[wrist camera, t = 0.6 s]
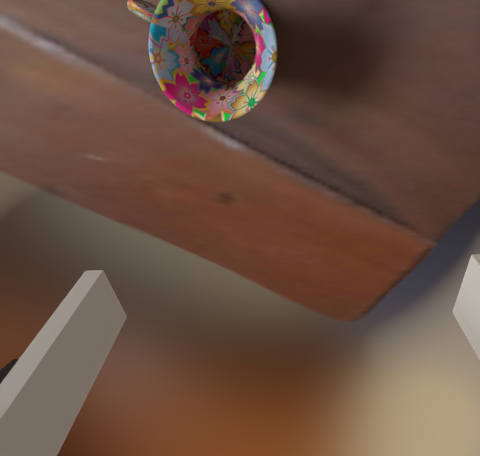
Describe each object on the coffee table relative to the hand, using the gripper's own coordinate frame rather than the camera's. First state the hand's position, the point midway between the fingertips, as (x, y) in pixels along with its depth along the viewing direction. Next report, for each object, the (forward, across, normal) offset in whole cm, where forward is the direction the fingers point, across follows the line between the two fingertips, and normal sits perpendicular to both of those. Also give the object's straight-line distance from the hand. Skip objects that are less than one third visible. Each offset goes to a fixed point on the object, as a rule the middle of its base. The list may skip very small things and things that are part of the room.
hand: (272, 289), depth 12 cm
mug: (+27, -5, +7) cm, 29 cm away
